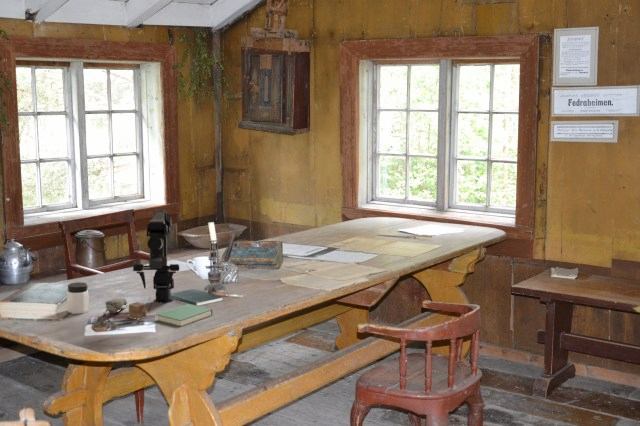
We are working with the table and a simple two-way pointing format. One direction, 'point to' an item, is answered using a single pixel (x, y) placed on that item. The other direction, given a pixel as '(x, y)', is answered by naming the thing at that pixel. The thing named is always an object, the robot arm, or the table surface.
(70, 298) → the jar
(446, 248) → the table surface
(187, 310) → the green book
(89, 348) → the table surface
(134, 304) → the walnut block
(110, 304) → the decorative bird
